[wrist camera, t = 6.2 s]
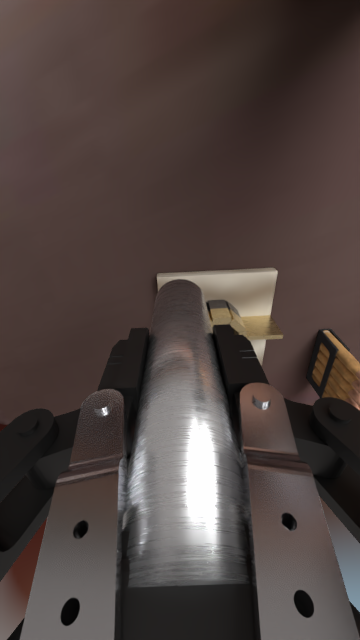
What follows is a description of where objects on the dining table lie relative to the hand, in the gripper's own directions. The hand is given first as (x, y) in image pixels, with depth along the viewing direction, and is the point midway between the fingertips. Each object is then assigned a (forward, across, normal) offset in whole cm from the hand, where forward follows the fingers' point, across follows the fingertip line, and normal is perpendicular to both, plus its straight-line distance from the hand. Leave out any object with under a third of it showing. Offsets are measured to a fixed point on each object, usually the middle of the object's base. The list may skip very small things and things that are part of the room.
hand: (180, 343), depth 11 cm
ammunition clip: (+23, -23, +21) cm, 39 cm away
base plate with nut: (+23, -5, +14) cm, 27 cm away
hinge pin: (+4, 0, 0) cm, 4 cm away
